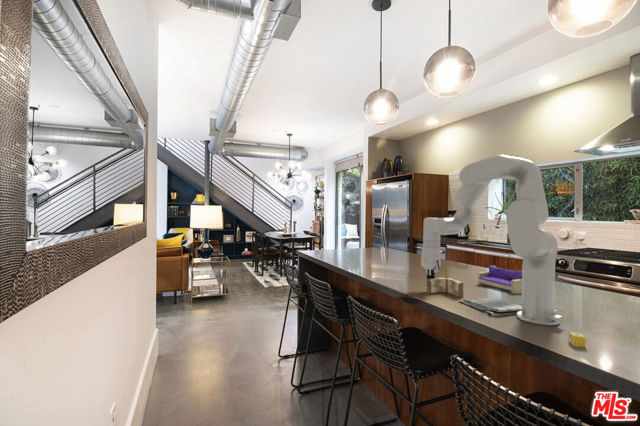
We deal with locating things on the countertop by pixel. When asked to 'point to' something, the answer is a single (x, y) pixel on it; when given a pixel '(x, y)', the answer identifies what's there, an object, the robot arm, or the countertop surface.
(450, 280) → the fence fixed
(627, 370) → the countertop surface
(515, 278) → the toy sofa
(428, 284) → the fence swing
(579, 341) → the alphabet block
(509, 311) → the dish towel
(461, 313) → the countertop surface
